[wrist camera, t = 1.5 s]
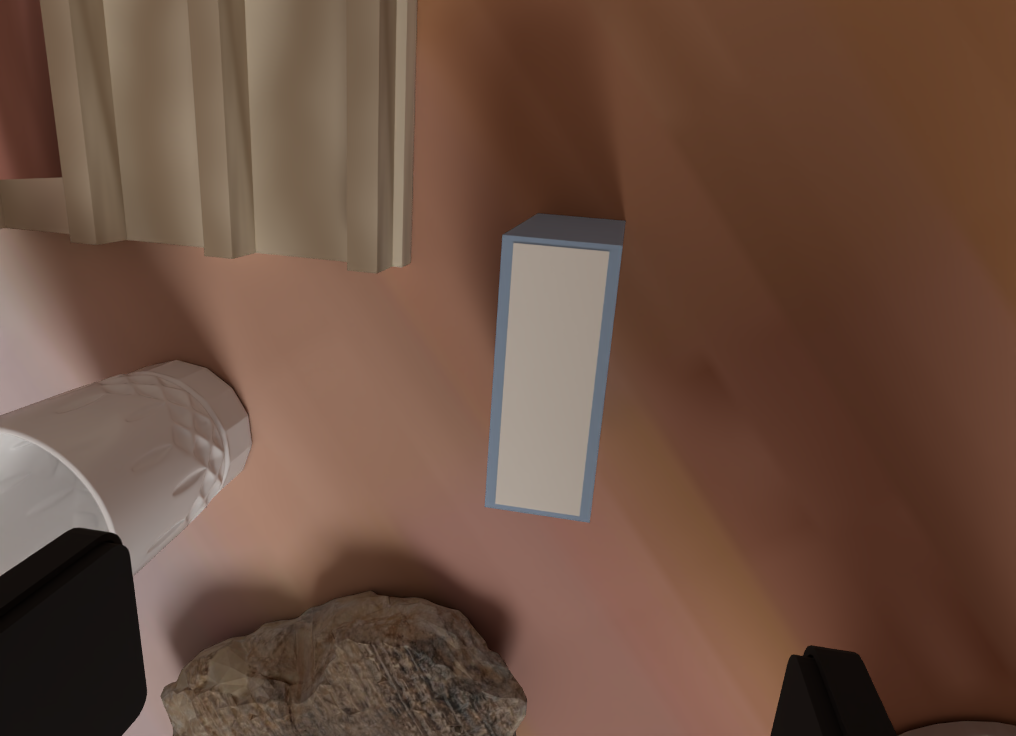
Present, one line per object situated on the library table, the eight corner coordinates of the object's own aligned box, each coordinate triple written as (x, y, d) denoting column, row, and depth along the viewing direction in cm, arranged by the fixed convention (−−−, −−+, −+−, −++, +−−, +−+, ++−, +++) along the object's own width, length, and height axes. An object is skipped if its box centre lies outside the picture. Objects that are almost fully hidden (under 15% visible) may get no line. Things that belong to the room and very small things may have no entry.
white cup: (151, 507, 35) (-24, 635, 26) (92, 363, 33) (-121, 445, 24) (286, 486, 33) (150, 615, 24) (232, 333, 31) (61, 408, 22)
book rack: (420, -123, 25) (304, -275, 16) (410, 262, 29) (315, 308, 20) (-58, -130, 28) (-376, -262, 19) (-2, 222, 32) (-241, 247, 23)
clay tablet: (465, 530, 33) (156, 650, 38) (441, 592, 28) (93, 719, 34) (590, 748, 36) (288, 831, 41) (587, 837, 31) (247, 918, 37)
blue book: (625, 220, 27) (622, 246, 20) (600, 429, 30) (589, 523, 22) (538, 213, 28) (502, 235, 20) (521, 419, 30) (484, 507, 23)
